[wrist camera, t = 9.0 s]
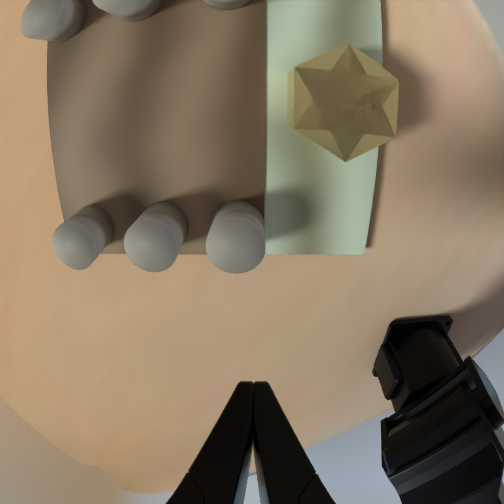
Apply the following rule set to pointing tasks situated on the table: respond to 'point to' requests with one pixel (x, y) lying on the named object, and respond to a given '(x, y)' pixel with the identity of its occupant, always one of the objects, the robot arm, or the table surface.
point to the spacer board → (197, 129)
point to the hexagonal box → (343, 102)
